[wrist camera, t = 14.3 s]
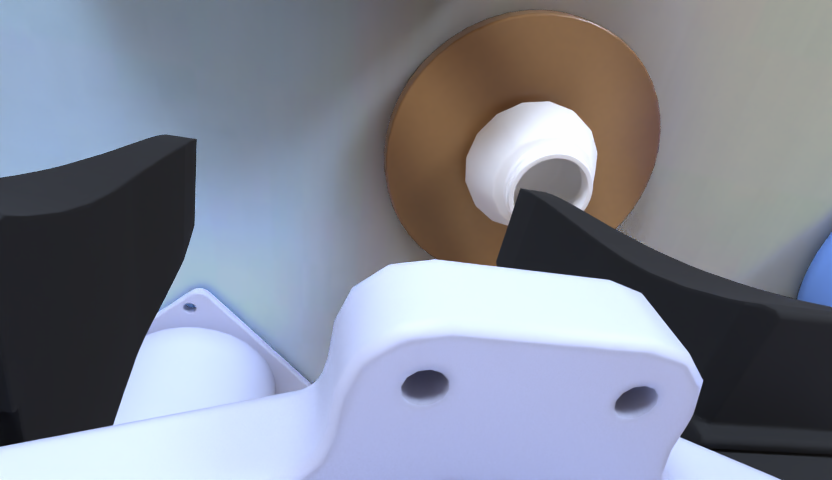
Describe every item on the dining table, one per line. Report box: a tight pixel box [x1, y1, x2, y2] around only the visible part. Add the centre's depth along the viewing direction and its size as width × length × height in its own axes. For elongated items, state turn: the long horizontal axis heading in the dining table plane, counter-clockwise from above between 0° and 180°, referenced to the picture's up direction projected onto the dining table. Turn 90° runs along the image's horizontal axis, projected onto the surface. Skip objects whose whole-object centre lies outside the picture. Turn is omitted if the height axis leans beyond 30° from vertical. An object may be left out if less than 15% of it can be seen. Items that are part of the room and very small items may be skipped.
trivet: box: [384, 10, 660, 267], centre depth 22 cm, size 11×11×1 cm
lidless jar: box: [465, 101, 597, 226], centre depth 21 cm, size 5×3×5 cm
